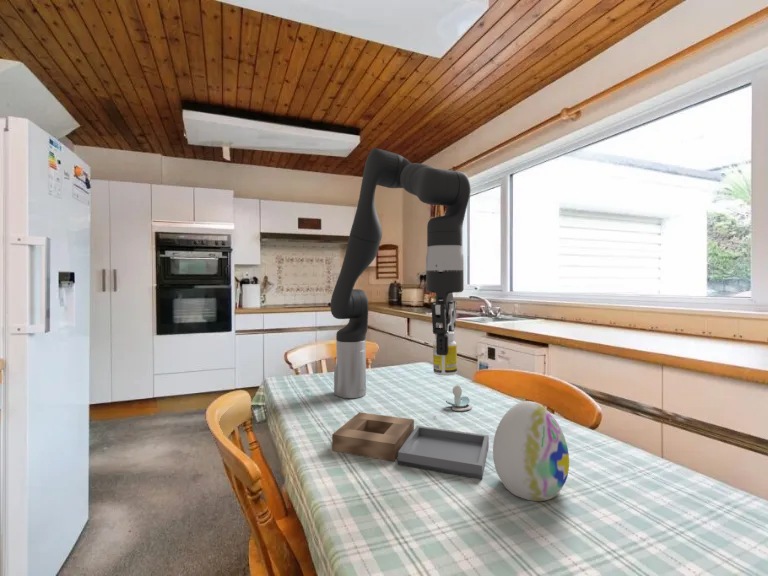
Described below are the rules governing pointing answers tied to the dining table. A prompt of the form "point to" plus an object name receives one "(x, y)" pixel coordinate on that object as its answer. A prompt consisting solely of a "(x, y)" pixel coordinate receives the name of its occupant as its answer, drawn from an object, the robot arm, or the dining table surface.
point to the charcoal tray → (445, 451)
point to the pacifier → (459, 400)
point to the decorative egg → (531, 452)
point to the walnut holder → (373, 436)
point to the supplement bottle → (446, 358)
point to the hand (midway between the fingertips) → (444, 351)
